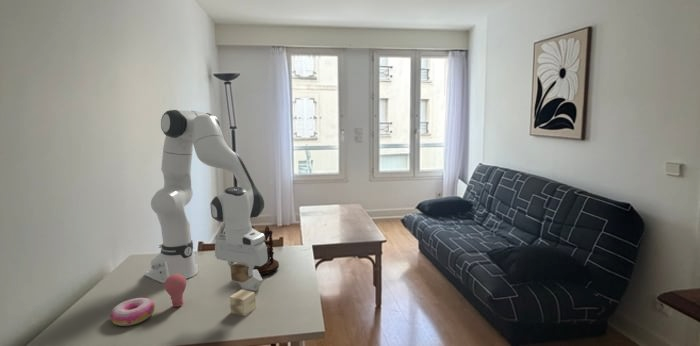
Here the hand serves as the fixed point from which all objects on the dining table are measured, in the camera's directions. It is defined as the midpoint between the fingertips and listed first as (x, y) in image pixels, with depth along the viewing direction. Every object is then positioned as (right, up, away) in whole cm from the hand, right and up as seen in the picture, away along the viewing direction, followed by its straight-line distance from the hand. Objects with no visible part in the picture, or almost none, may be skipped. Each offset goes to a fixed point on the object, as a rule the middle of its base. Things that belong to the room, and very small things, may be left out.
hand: (242, 274), depth 139 cm
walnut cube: (0, -2, 0) cm, 2 cm away
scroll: (-1, -8, +36) cm, 37 cm away
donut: (-37, -15, -1) cm, 40 cm away
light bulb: (-25, -13, +6) cm, 29 cm away
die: (-1, -11, +18) cm, 21 cm away
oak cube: (0, -13, +2) cm, 13 cm away
